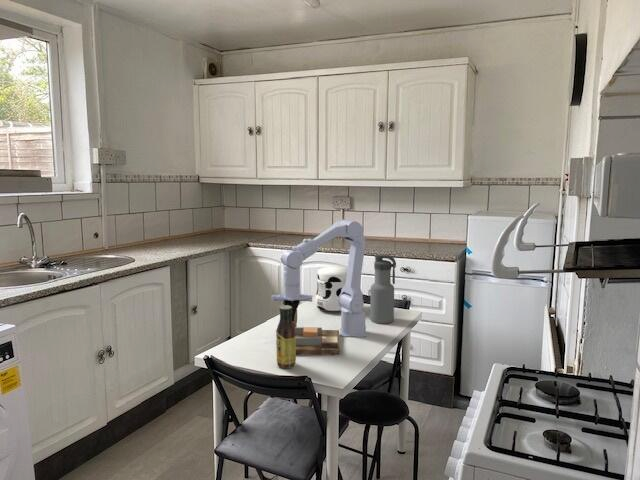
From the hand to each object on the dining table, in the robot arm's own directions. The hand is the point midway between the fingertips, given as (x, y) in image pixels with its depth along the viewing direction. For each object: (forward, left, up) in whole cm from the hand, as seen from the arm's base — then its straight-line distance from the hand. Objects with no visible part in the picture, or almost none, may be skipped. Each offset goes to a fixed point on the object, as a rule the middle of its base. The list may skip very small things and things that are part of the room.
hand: (292, 320), depth 173 cm
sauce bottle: (0, +19, -9) cm, 21 cm away
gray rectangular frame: (-4, 0, -7) cm, 8 cm away
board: (-7, 0, -9) cm, 11 cm away
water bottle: (-36, -28, -9) cm, 46 cm away
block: (-7, 0, -7) cm, 10 cm away
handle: (+1, -18, -9) cm, 20 cm away
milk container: (-16, -44, -9) cm, 48 cm away
